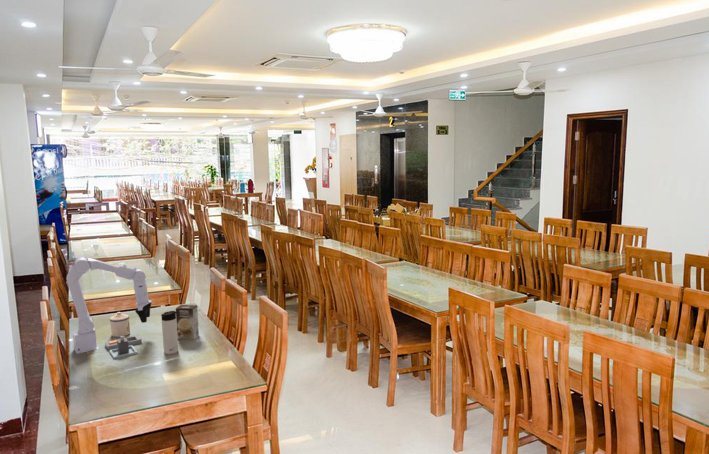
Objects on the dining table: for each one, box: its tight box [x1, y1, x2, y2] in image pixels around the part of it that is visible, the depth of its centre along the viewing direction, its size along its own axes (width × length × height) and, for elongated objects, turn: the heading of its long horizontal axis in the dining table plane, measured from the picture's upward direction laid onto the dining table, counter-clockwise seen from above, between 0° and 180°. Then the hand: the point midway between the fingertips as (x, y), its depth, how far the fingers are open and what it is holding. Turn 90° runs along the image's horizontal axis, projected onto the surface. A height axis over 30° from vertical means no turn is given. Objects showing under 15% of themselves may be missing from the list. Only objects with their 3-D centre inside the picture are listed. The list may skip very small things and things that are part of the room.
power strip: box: [104, 334, 143, 351], centre depth 243 cm, size 15×7×3 cm, turn 126°
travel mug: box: [161, 310, 179, 356], centre depth 232 cm, size 6×7×20 cm
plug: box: [116, 336, 129, 355], centre depth 232 cm, size 4×4×8 cm
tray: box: [108, 345, 139, 360], centre depth 233 cm, size 10×10×2 cm
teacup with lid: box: [109, 311, 131, 338], centre depth 260 cm, size 12×9×12 cm
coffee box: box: [175, 304, 200, 340], centre depth 252 cm, size 9×6×16 cm
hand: (145, 319), depth 251 cm, fingers open, 7 cm apart
